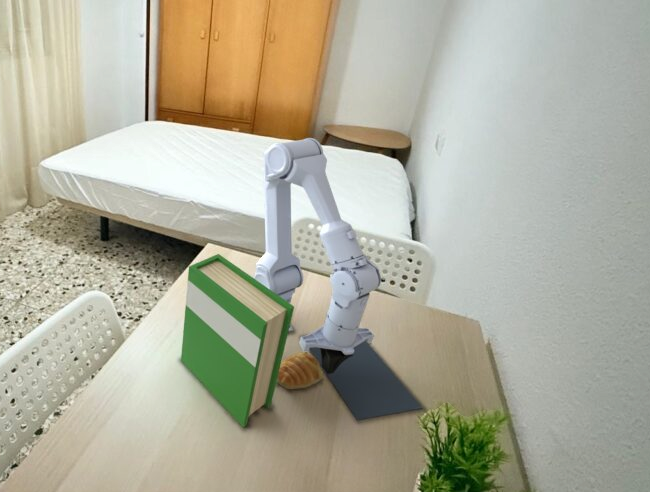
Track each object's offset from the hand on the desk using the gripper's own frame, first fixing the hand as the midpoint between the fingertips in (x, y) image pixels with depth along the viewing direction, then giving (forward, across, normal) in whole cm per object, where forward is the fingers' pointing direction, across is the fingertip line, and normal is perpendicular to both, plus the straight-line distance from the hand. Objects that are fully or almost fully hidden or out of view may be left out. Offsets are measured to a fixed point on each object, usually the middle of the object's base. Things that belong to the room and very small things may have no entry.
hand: (327, 369), depth 81 cm
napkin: (+2, +7, 0) cm, 7 cm away
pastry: (+2, -6, +1) cm, 6 cm away
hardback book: (+2, -21, +2) cm, 21 cm away
